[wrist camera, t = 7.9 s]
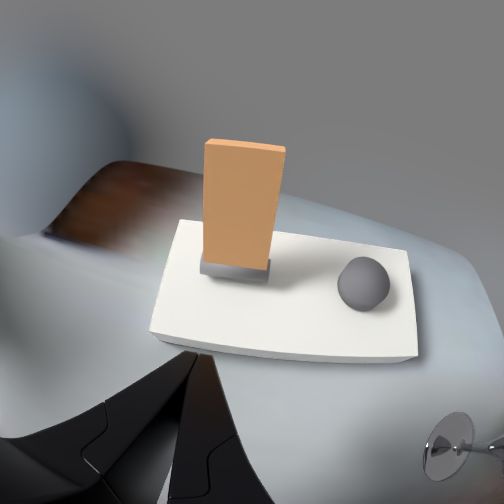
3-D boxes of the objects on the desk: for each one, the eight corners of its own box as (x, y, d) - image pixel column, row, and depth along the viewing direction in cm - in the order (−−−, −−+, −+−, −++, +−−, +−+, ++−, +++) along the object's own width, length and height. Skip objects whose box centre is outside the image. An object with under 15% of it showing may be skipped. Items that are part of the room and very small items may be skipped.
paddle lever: (266, 288, 18) (289, 153, 13) (199, 279, 18) (200, 144, 13) (267, 272, 19) (288, 146, 14) (205, 264, 19) (207, 137, 14)
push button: (382, 312, 18) (392, 306, 16) (337, 309, 18) (344, 302, 16) (379, 268, 19) (387, 259, 18) (336, 263, 20) (342, 253, 18)
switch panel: (397, 362, 19) (418, 355, 16) (160, 340, 19) (148, 330, 16) (391, 267, 23) (406, 251, 21) (185, 240, 24) (180, 219, 21)
